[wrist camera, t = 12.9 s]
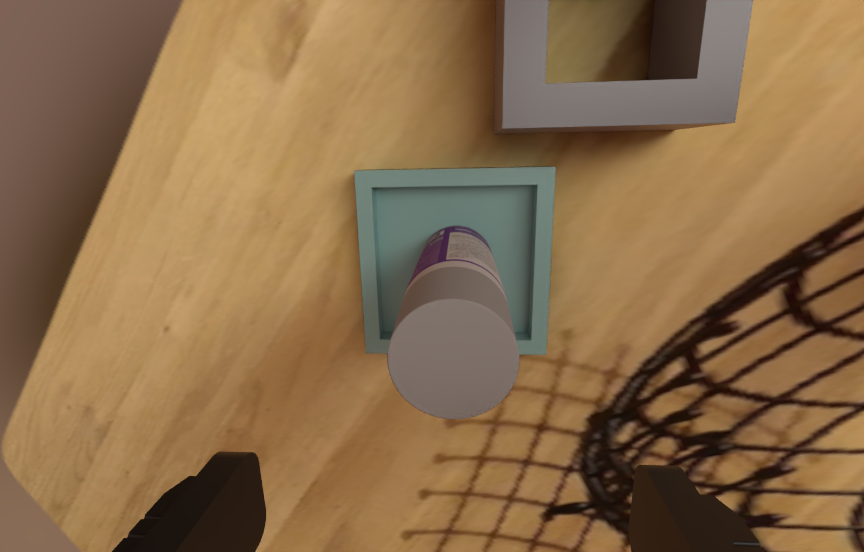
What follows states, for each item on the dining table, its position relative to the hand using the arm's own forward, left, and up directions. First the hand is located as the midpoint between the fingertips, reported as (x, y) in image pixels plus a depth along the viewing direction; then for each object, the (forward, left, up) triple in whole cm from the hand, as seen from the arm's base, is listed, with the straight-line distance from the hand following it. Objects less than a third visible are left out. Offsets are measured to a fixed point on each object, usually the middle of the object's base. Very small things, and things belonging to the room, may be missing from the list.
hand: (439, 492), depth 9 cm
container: (0, 0, -21) cm, 21 cm away
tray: (0, 0, -21) cm, 21 cm away
